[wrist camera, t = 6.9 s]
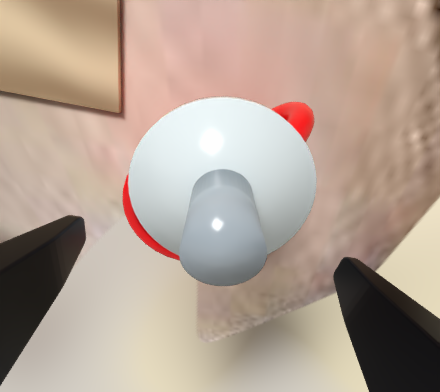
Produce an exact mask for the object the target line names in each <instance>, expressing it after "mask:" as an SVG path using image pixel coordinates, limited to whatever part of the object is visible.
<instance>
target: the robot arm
mask: <svg viewBox="0 0 440 392" xmlns="http://www.w3.org/2000/svg"><path fill="white" fill-rule="evenodd" d="M85 240H86V233H85V223H84V219H83V218H82V217H80V216H73V215H68V216H65V217H63V218H61V219H58V220H56V221H53V222H51V223H48V224H46V225H44V226H41V227H39V228H36V229H34V230H32V231H29V232H27V233H24V234H22V235H20V236H17V237H15V238H12V239H10V240H7V241H5V242H3V243H0V385H1V384H2V382H3V381H4V379H5V377H6V376H7V374H8V373H9V371H10V370H11V368H12V366H13V365H14V363H15V362H16V360H17V359H18V357H19V355H20V354H21V352H22V351H23V349H24V347H25V346H26V344H27V343H28V341H29V340H30V338H31V337H32V335H33V333H34V332H35V330H36V329H37V327H38V326H39V324H40V322H41V321H42V319H43V317H44V316H45V315H46V313H47V311H48V310H49V308H50V306H51V305H52V304H53V302H54V300H55V299H56V297H57V296H58V294H59V292H60V291H61V289H62V287H63V286H64V284H65V282H66V280H67V278H68V276H69V274H70V272H71V270H72V268H73V266H74V264H75V262H76V260H77V258H78V256H79V254H80V252H81V250H82V248H83V246H84V243H85ZM333 277H334V283H335V287H336V291H337V295H338V298H339V303H340V307H341V311H342V315H343V318H344V322H345V325H346V328H347V330H348V333H349V336H350V339H351V342H352V345H353V347H354V350H355V353H356V356H357V359H358V362H359V364H360V367H361V370H362V373H363V376H364V379H365V381H366V384H367V387H368V390H369V392H440V319H439V318H438V317H436V316H435V315H434V314H432V313H431V312H429V311H428V310H427V309H425V308H424V307H423V306H421V305H420V304H418V303H417V302H416V301H414V300H413V299H412V298H410V297H409V296H407V295H406V294H405V293H403V292H402V291H400V290H399V289H398V288H397V287H395V286H394V285H392V284H391V283H390V282H388V281H387V280H386V279H384V278H383V277H382V276H380V275H379V274H377V273H376V272H375V271H373V270H372V269H371V268H369V267H368V266H366V265H365V264H364V263H362V262H361V261H360V260H358V259H356V258H351V257H344V258H343V259H342V260H341V262H340V264H339V265H338V267H337V269H336V270H335V272H334V276H333Z"/></svg>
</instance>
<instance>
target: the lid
mask: <svg viewBox="0 0 440 392" xmlns="http://www.w3.org/2000/svg"><path fill="white" fill-rule="evenodd" d="M128 188H129V196H130V200H131V204H132V207H133V209H134V212H135V214H136V216H137V218H138V220H139V222H140V223H141V225H142V226H143V227H144V229H145V230H146V231H147V233H148V234H149V235H150V236H151V237H152V238H153V239H154V240H155V241H157V242H158V243H159V244H160V245H161V246H163V247H164V248H166V249H167V250H169V251H171V252H173V253H175V254H176V255H178V256H179V258H180V261H181V264H182V266H183V268H184V269H185V270H186V272H187V273H188V274H190V275H191V276H192V277H193V278H195V279H196V280H198V281H201V282H203V283H206V284H209V285H215V286H231V285H236V284H240V283H243V282H245V281H247V280H249V279H251V278H252V277H254V276H255V275H256V274H258V273H259V271H260V270H261V269H262V268H263V266H264V264H265V262H266V259H267V255H268V254H270V253H271V252H273V251H275V250H277V249H278V248H280V247H281V246H282V245H284V244H285V243H286V242H287V241H289V240H290V239H291V238H292V237H293V236H294V235H295V234H296V233H297V231H298V230H299V229H300V228H301V226H302V225H303V223H304V222H305V220H306V219H307V217H308V215H309V213H310V211H311V208H312V205H313V202H314V198H315V193H316V170H315V165H314V161H313V158H312V155H311V153H310V151H309V148H308V146H307V144H306V143H305V141H304V140H303V138H302V137H301V135H300V134H299V133H298V132H297V131H296V130H295V128H294V127H293V126H292V125H291V124H290V123H289V122H288V121H286V120H285V119H284V118H283V117H281V116H280V115H279V114H278V113H276V112H275V111H273V110H271V109H270V108H268V107H266V106H264V105H262V104H259V103H257V102H255V101H251V100H248V99H244V98H239V97H230V96H213V97H207V98H201V99H197V100H194V101H191V102H188V103H185V104H183V105H181V106H179V107H177V108H175V109H173V110H172V111H170V112H169V113H167V114H166V115H164V116H163V117H162V118H161V119H160V120H159V121H158V122H157V123H156V124H154V125H153V126H152V127H151V128H150V129H149V131H148V132H147V133H146V134H145V136H144V137H143V138H142V139H141V141H140V143H139V145H138V146H137V148H136V150H135V152H134V155H133V158H132V160H131V164H130V169H129V177H128Z"/></svg>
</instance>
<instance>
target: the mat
mask: <svg viewBox="0 0 440 392" xmlns="http://www.w3.org/2000/svg"><path fill="white" fill-rule="evenodd" d="M0 90H1V91H6V92H11V93H16V94H22V95H27V96H32V97H37V98H42V99H48V100H53V101H58V102H63V103H69V104H74V105H79V106H84V107H90V108H95V109H100V110H105V111H111V112H116V113H120V112H121V39H120V0H0Z"/></svg>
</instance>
